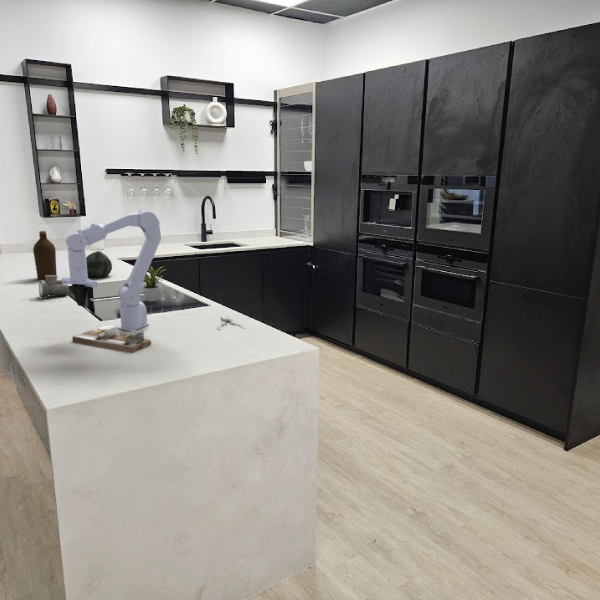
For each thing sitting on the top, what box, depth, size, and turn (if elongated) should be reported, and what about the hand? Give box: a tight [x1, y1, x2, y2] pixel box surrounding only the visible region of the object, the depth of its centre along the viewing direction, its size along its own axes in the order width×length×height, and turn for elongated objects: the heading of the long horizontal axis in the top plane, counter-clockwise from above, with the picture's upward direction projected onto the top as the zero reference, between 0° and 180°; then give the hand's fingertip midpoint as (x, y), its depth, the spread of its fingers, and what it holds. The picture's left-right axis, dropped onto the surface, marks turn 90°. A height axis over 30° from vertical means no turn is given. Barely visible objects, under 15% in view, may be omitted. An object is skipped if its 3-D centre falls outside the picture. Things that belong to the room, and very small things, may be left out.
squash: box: [86, 250, 113, 278], centre depth 285 cm, size 14×15×15 cm
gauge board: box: [72, 329, 152, 353], centre depth 178 cm, size 9×26×4 cm, turn 67°
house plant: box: [142, 265, 168, 303], centre depth 235 cm, size 14×14×16 cm
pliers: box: [216, 315, 244, 331], centre depth 203 cm, size 10×2×15 cm
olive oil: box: [32, 230, 58, 281], centre depth 277 cm, size 11×11×25 cm
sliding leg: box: [96, 325, 117, 339], centre depth 179 cm, size 7×4×3 cm, turn 157°
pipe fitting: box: [38, 275, 70, 299], centre depth 240 cm, size 12×8×10 cm
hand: (81, 305), depth 186 cm, fingers closed
